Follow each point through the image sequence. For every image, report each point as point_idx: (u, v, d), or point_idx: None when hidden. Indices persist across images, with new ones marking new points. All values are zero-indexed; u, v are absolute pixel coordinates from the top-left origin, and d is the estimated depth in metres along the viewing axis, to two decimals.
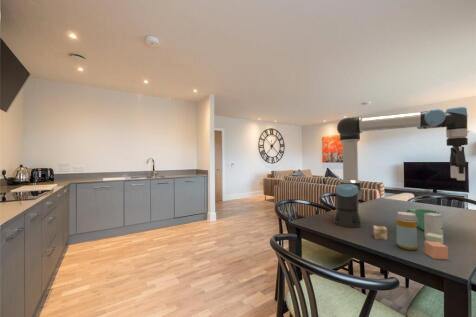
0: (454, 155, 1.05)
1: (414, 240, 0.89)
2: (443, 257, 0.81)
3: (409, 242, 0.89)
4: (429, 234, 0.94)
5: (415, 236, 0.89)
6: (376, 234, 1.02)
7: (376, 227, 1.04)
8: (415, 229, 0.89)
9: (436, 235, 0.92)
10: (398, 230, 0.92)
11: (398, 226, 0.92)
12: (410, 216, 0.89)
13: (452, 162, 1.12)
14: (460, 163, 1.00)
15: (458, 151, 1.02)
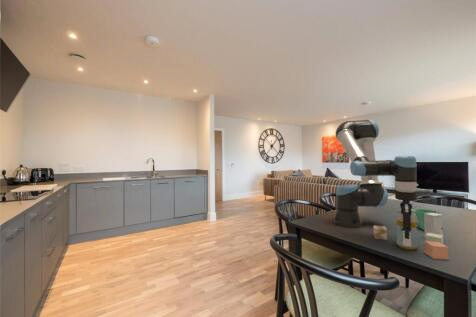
0: (401, 213, 0.91)
1: (414, 240, 0.89)
2: (443, 257, 0.81)
3: None
4: (429, 234, 0.94)
5: (415, 236, 0.89)
6: (376, 234, 1.02)
7: (376, 227, 1.04)
8: (415, 229, 0.89)
9: (436, 235, 0.92)
10: (398, 230, 0.92)
11: (398, 226, 0.92)
12: None
13: None
14: (405, 228, 0.88)
15: (404, 213, 0.88)
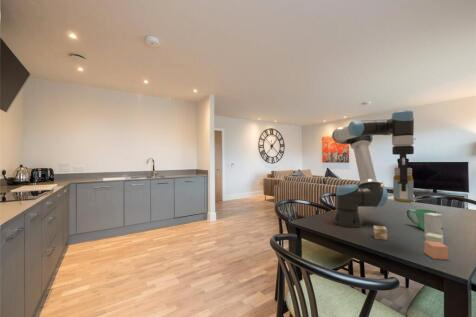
0: (398, 167, 0.92)
1: (410, 192, 0.90)
2: (443, 257, 0.81)
3: None
4: (429, 234, 0.94)
5: (412, 189, 0.90)
6: (376, 234, 1.02)
7: (376, 227, 1.04)
8: (412, 182, 0.90)
9: (436, 235, 0.92)
10: (395, 184, 0.94)
11: (395, 180, 0.93)
12: (407, 169, 0.90)
13: None
14: (401, 180, 0.89)
15: (401, 165, 0.89)
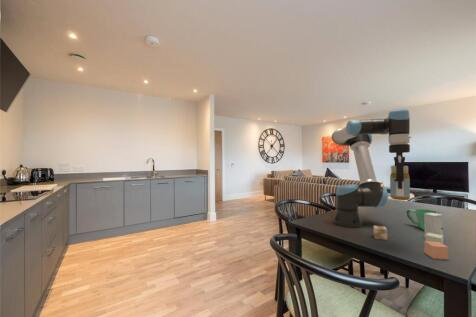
0: (395, 165, 0.94)
1: (407, 190, 0.92)
2: (443, 257, 0.81)
3: None
4: (429, 234, 0.94)
5: (408, 187, 0.92)
6: (376, 234, 1.02)
7: (376, 227, 1.04)
8: (408, 179, 0.92)
9: (436, 235, 0.92)
10: (392, 182, 0.95)
11: (392, 178, 0.95)
12: (403, 167, 0.92)
13: None
14: (398, 177, 0.90)
15: (397, 163, 0.91)
